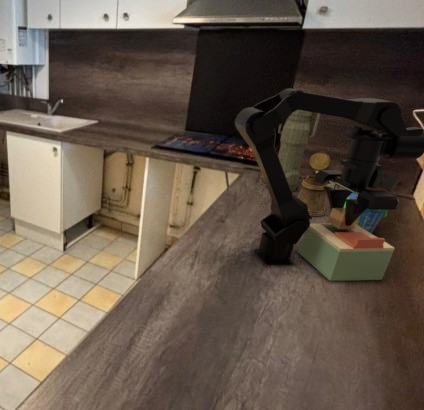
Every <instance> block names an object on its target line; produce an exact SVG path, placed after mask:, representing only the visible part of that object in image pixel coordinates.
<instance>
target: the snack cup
mask: <svg viewBox="0 0 424 410" xmlns="http://www.w3.org/2000/svg"><path fill="white" fill-rule="evenodd" d="M355 197H356V194H354V193H352V194H351V195H349V196H348V197H347V199H354V198H355ZM343 208H346V202H345V205H344V207H343ZM388 211H389V210H371V209H366V210H365V211H364V212H363V213H362V214H361V215H360V216H359V217H358V220H357V223H356V225H358V226H360V227H361V228H363V229H365V230H366V231H368V232H369V233H371V234H373V232H374V231H375V230H376V228H377V227H378V225H379V223H380V221H381V220H382V219H385V218H386V217H387V215H388Z"/></svg>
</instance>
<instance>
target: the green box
mask: <svg viewBox="0 0 424 410" xmlns="http://www.w3.org/2000/svg"><path fill="white" fill-rule="evenodd" d="M325 228H327V229H328V230H329V231H331V232H332V233H335V232H349V231H348V230H346V229H338V228H337V227H325ZM298 254H299V255H300V256H302V257H303V258H304V259H305V260H306V261H307V262H308V263H309V264H311V266H313V268H315V269H316V270H317V271H318V272H319V273H320V274H322V275H323V277H325V278H326V279H327V280H328V281H330V282H333V281H336V282H337V281H340V282H341V281H383V278H384V276H385V274H386V271H387V269H388V267H389V264H390V261H391V259H392V256H393V254H394V251H355V252H354V251H351V252H339V251H338V250H337V249H335V248H334V247H333V246H331V245H330V244H329V243H327V242H326V241H325V240H323V239H322V238H321V237H319V236H318V235H317V234H315V233H314V232H313V231H311V230H310V229H309V228H308V229H307V231H305V232H304V234H303V235H302V239H301V243H300V246H299V250H298Z"/></svg>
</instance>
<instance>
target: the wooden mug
mask: <svg viewBox="0 0 424 410" xmlns="http://www.w3.org/2000/svg"><path fill="white" fill-rule="evenodd" d="M331 164H332V159H331V156H330V155H329V153H327V152H326V151H324V150H320V151H317V152H315V153H313V154H311V156H310V157H309V159H308V166H309V167H310V169H311V170H312V171H311V175H306V177H305V178H304V179H303V181H302V183H301V189H300V191H299V193H298V195H297V198H299V199H300V200H301V201H303V202H304V203H305V204H307V207H308V213H309V215H310V216H311V217H321V216H322V217H323V216H324V215H325V214H326V213H325V212H326V206H325V205H326V197H327V194H326V191H325V189H324V186H327V185H328V181H326V182H325V183H324V184H320V183H318V182H316V181H314V180H315V176H316V173H318V172H319V171H320V170H328V169H329V168H330V166H331Z"/></svg>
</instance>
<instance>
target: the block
mask: <svg viewBox="0 0 424 410" xmlns="http://www.w3.org/2000/svg"><path fill="white" fill-rule="evenodd" d="M345 209H346V208H332V210H331V211H330V215H329V218H328V221H327V222H328V223H331V224H332V225H334V226H335V227H337V228H338V229H355V226H356V223H357V220H358V218H357V219H356V220H355V222H354V223H353V224H352V225H351V226H346V225H345Z"/></svg>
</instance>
